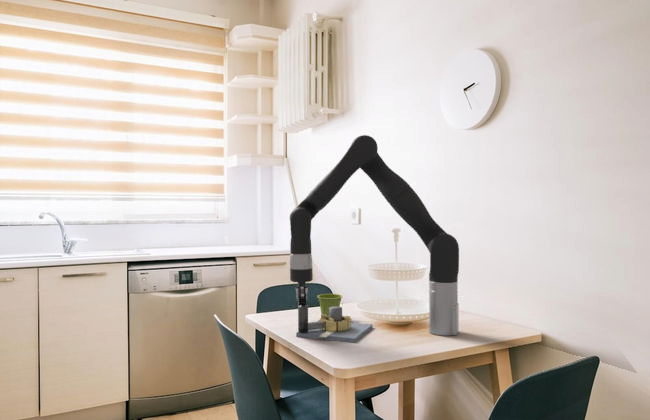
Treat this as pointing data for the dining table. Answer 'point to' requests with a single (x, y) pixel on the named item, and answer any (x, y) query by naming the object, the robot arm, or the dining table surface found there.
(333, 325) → the ring with upright handle
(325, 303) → the plant pot
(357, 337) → the hub board
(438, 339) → the dining table surface
